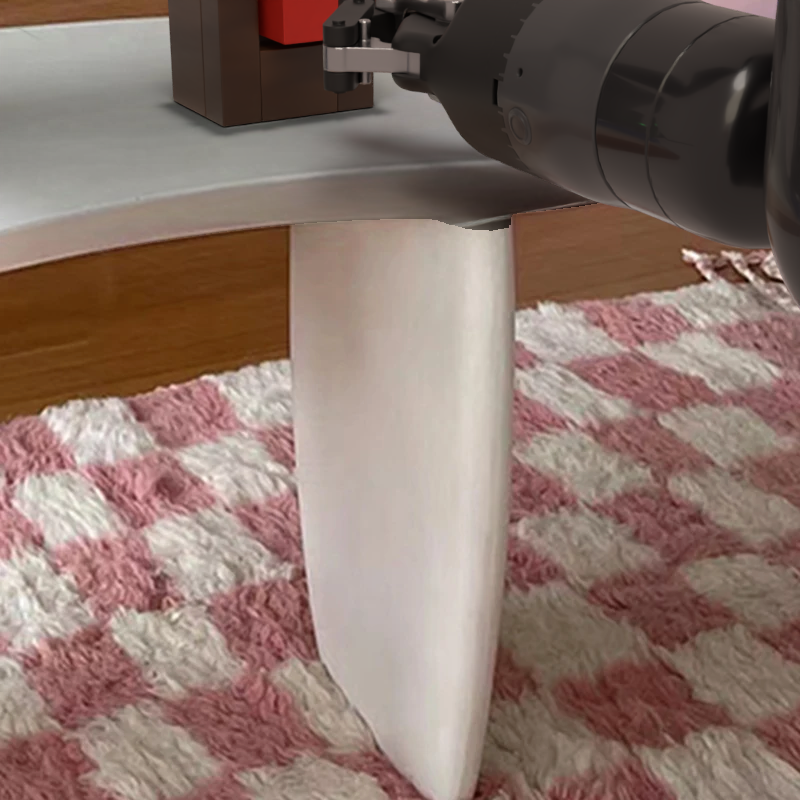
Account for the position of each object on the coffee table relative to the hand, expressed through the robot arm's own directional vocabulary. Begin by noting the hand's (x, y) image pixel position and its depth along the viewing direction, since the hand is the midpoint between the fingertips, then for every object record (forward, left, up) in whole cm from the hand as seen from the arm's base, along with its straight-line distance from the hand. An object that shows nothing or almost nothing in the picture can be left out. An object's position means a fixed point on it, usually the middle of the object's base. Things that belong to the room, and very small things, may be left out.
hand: (355, 6), depth 70 cm
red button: (0, +5, -2) cm, 6 cm away
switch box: (0, +8, -6) cm, 10 cm away
